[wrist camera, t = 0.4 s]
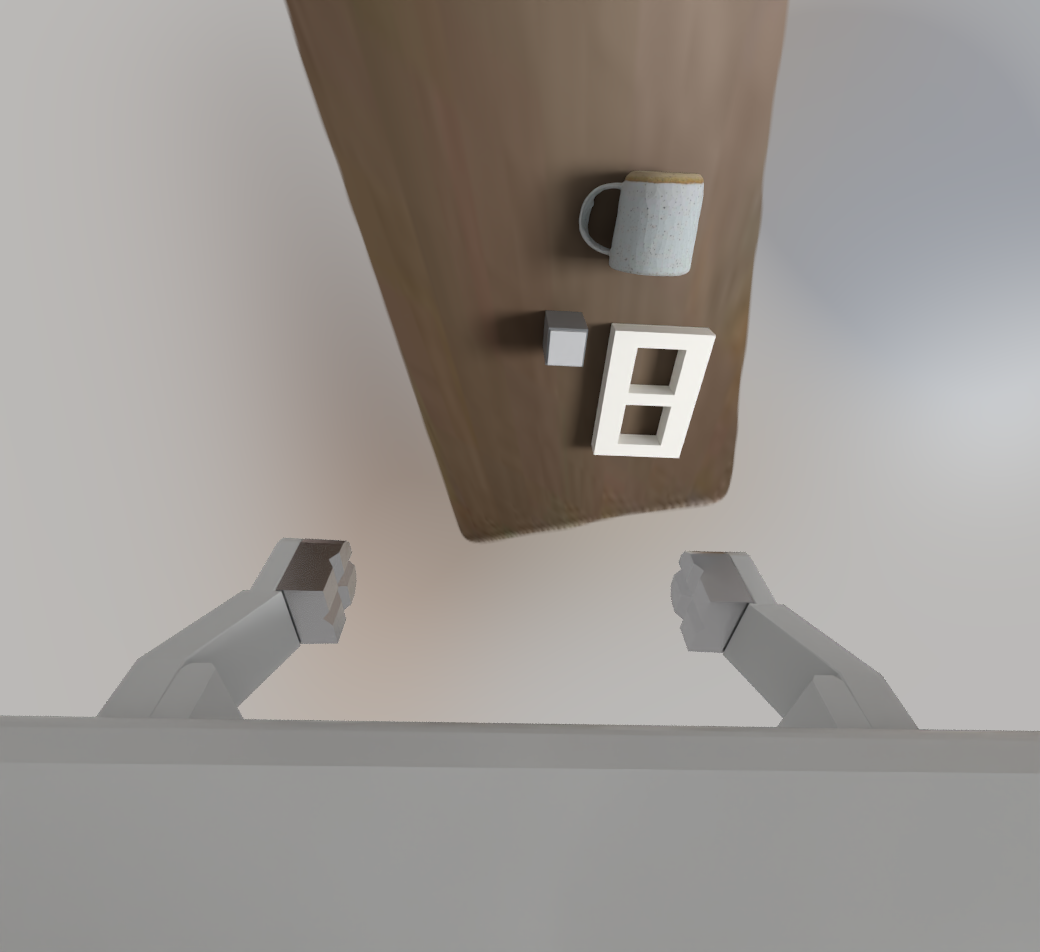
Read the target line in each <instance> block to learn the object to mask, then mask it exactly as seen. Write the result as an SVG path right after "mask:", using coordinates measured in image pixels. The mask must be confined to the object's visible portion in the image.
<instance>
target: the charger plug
mask: <svg viewBox="0 0 1040 952" xmlns="http://www.w3.org/2000/svg"><path fill="white" fill-rule="evenodd" d="M587 335H588V327H587V325H586V322H585V319H584V317H583V314H582V312H568V311H549V310H546V312H545V324H544V335H543V352H544V359H545V365H555V366H577V367H583V363H584V356H585V349H586V342H587Z"/></svg>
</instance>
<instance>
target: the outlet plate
mask: <svg viewBox="0 0 1040 952" xmlns="http://www.w3.org/2000/svg"><path fill="white" fill-rule="evenodd" d="M715 337H716V335H715V334H714V333H713V332H712V331H711V330H710V329H709V328H700V327H680V326H661V325H641V324H621V323H612V324H611V330H610V336H609V342H608V348H607V354H606V360H605V366H604V372H603V377H602V383H601V389H600V395H599V401H598V407H597V413H596V419H595V425H594V431H593V437H592V443H591V445H592V449H593V453H594V455H615V456H641V457H666V458H679V456H680V453H681V449H682V446H683V443H684V439H685V436H686V433H687V430H688V426H689V423H690V420H691V416H692V413H693V410H694V406H695V403H696V400H697V397H698V393H699V390H700V387H701V383H702V380H703V377H704V373H705V370H706V367H707V364H708V360H709V357H710V354H711V350H712V347H713V344H714V340H715ZM637 348H656V349H677V350H678V353H677V357H676V360H675V364H674V368H673V372H672V376H671V380H670V384H669V386H660V385H638V384H630V382H631V377H632V372H633V367H634V363H635V358H636V353H637ZM626 405H646V406H664V407H663V410H662V414H661V418H660V422H659V426H658V430H657V434H656V435H636V434H620V430H621V425H622V420H623V416H624V411H625V406H626Z"/></svg>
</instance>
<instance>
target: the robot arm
mask: <svg viewBox="0 0 1040 952" xmlns="http://www.w3.org/2000/svg"><path fill="white" fill-rule="evenodd" d="M351 553H352V551H351V547H350V543H349V542H347V541H339V540H322V539H294V538H283V539H281V540H280V541H279V542H278V543H277V544H276V546H275V548H274V550H273V551H272V553H271V555H270V557H269V558H268V560H267V562H266V563H265V565H264V567H263V568H262V570H261V572H260V574H259V575H258V577H257V579H256V581H255V582H254V584H253V586H252V587H251V589H250V590H243V591H241V592H240V593H238V594H237V595H235V596H234V597H232V598H231V599H229V600H227V601H226V602H224V603H223V604H221V605H220V606H218V607H217V608H215V609H214V610H212V611H211V612H209V613H208V614H206V615H205V616H203V617H201V618H200V619H198V620H197V621H195V622H194V623H192V624H191V625H189V626H188V627H186V628H185V629H183V630H182V631H180V632H179V633H177V634H176V635H174V636H173V637H171V638H169V639H168V640H166V641H165V642H163V643H162V644H160V645H159V646H157V647H156V648H154V649H153V650H151V651H149V652H148V653H146V654H145V655H143V656H142V657H140V658H139V659H137V661H136V662H135V663H134V665H133V666H132V668H131V669H130V670H129V672H128V673H127V675H126V676H125V677H124V679H123V680H122V681H121V683H120V684H119V686H118V687H117V688H116V690H115V691H114V693H113V694H112V695H111V697H110V698H109V700H108V701H107V702H106V704H105V705H104V707H103V708H102V710H101V711H100V712H99V713H98V715H97V716H96V717H61V716H60V717H59V716H0V952H1040V731H995V730H928V729H927V730H926V729H918V727H917V726H916V724H915V723H914V721H913V720H912V718H911V717H910V716H909V714H908V713H907V711H906V710H905V708H904V707H903V705H902V704H901V702H900V701H899V699H898V698H897V697H896V695H895V694H894V692H893V691H892V689H891V688H890V686H889V685H888V683H887V682H886V680H885V679H884V677H883V676H882V675H881V674H880V673H878V672H877V671H875V670H874V669H873V668H871V667H870V666H868V665H867V664H866V663H864V662H863V661H862V660H860V659H859V658H857V657H856V656H854V655H853V654H852V653H850V652H849V651H848V650H846V649H845V648H843V647H842V646H841V645H839V644H838V643H837V642H835V641H834V640H832V639H831V638H830V637H828V636H826V635H825V634H824V633H823V632H821V631H820V630H818V629H817V628H816V627H814V626H813V625H811V624H810V623H809V622H807V621H806V620H805V619H803V618H802V617H800V616H799V615H798V614H796V613H795V612H793V611H792V610H791V609H789V608H788V607H786V606H785V605H781V604H777V602H776V601H775V599H774V597H773V595H772V594H771V592H770V590H769V589H768V587H767V585H766V583H765V581H764V580H763V578H762V576H761V575H760V573H759V571H758V569H757V568H756V566H755V564H754V562H753V561H752V559H751V557H750V556H749V555H748V554H747V553H745V552H700V551H685V552H684V553H683V554H682V555H681V557H680V560H679V565H680V567H681V570H680V571H679V572H678V573H676V574H675V575H674V577H673V580H672V584H671V600H672V605H673V607H674V611H675V613H676V614H678V615H679V616H680V617H681V618H682V619H683V621H682V624H681V627H680V629H681V631H682V634H683V637H684V640H685V643H686V646H687V649H688V651H697V652H717V653H723V655H724V656H725V657H726V658H727V659H728V660H729V662H730V663H731V664H732V665H733V666H734V667H735V668H736V669H737V670H738V671H739V672H740V673H741V674H742V675H743V676H744V677H745V678H746V679H747V681H748V682H749V683H750V684H751V685H752V686H753V687H754V688H755V689H756V690H757V691H758V692H759V693H760V694H761V695H762V696H763V697H764V698H765V699H766V701H767V702H768V703H769V704H770V705H771V706H772V707H773V708H774V709H775V710H776V711H777V712H778V713H779V714H780V715H781V716H782V717H783V719H782V721H781V722H780V723H779V725H778V726H777V727H727V726H725V727H724V726H660V725H657V726H656V725H655V726H652V725H589V724H588V725H587V724H517V723H455V722H451V723H449V722H386V721H381V722H380V721H321V720H319V721H318V720H316V721H315V720H256V719H254V720H253V719H252V720H251V719H243V717H242V715H241V714H240V712H239V710H238V708H237V707H238V706H239V705H240V704H241V703H242V702H243V701H244V700H245V699H246V698H247V697H248V696H249V695H250V694H251V693H252V692H253V691H254V690H255V689H256V688H258V687H259V686H260V685H261V684H262V683H263V682H264V681H265V680H266V679H267V678H268V677H269V676H270V675H271V674H272V673H273V672H274V671H275V670H276V669H277V668H278V667H279V666H280V665H281V664H282V663H283V662H284V661H285V660H286V659H287V658H288V657H289V656H290V655H291V654H292V653H293V652H294V651H295V650H296V649H298V647H300V644H303V643H304V644H308V643H309V644H314V643H338V641H339V638H340V635H341V632H342V629H343V626H344V624H345V621H346V617H345V613H344V609H346V608H347V607H348V606H349V605H351V603H352V600H353V597H354V594H355V587H356V571H355V566H354V565H353V564H352V563H351V562H350V561H349V558H350V556H351Z"/></svg>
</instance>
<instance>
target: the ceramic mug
mask: <svg viewBox="0 0 1040 952" xmlns="http://www.w3.org/2000/svg"><path fill="white" fill-rule="evenodd" d="M611 188H618V189H621V194H620V199H619V205H618V214H617V219H616V225H615V230H614V235H613V241H612V247H611V249H609V248H606V247H603V246H601V245H599V244H598V243H596V242H595V241H594V240H593V239H592V238H591V237H590V235H589V233H588V221H589V216H590V212H591V208H592V207H593V206H594V201H593V200H594V198H595V196H596V195H598V194H599V193H600V192H602V191H603V190H607V189H611ZM703 189H704V182H703V178H702V177H701V175H700V174H697V173H679V172H656V171H632V172H630V173H629V174H628V175H627V176H626V178H625V180H624V182H623V183H609V184H604V185H601V186H599V187H597V188H596V189H594V190H593V191H592V192H591V193H589V195H588V196H587V197H586V199H585V200H584V202H583V205H582V207H581V211H580V216H579V229H580V233H581V235H582V237H583V239H584V240H585V241H586V243H587V244H588V245H589V246H590V247H591V248H593V249H595V250H596V251H598V252H600V253H603V254H606V255H609V257H610V258H609V265H610V267H612V268H613V269H615V270H619V271H623V272H627V273H633V274H639V275H650V276H679V275H683V274H686V273H688V272H689V270H690V266H691V260H692V254H693V248H694V244H695V238H696V233H697V227H698V221H699V216H700V211H701V206H702V200H703Z"/></svg>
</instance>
